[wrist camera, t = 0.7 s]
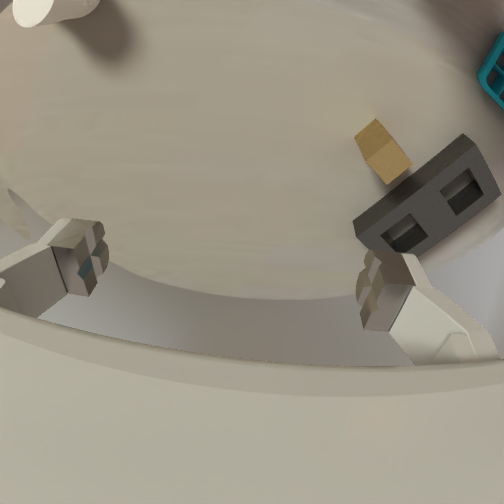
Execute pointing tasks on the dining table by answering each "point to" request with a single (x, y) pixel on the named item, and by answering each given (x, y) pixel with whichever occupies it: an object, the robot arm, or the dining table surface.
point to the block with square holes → (430, 201)
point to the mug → (50, 11)
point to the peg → (382, 152)
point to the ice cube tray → (500, 83)
